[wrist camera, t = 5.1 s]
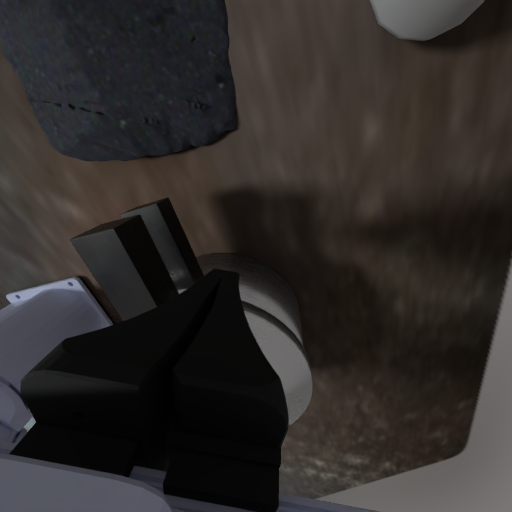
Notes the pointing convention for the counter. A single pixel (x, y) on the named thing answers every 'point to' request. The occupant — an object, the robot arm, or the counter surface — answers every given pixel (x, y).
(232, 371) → the robot arm
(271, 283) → the pot
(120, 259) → the lid
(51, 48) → the dark slate chunk
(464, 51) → the counter surface
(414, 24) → the salt shaker
